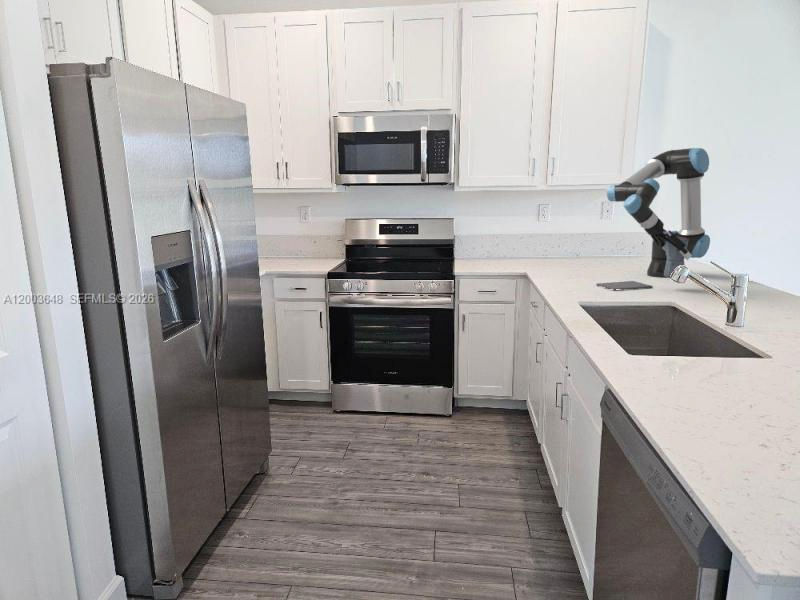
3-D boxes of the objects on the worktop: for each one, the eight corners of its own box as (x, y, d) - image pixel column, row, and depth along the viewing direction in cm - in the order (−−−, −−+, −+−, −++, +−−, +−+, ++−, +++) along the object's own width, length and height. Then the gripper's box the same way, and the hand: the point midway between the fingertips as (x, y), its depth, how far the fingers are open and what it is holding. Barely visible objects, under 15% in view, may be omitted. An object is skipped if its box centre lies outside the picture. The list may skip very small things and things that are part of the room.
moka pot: (663, 279, 234) (666, 234, 230) (660, 273, 248) (663, 231, 244) (687, 279, 231) (691, 234, 226) (683, 273, 245) (686, 230, 240)
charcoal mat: (633, 282, 261) (633, 280, 260) (652, 288, 246) (652, 285, 246) (596, 285, 257) (596, 283, 257) (613, 290, 243) (613, 288, 243)
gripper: (630, 228, 244) (659, 259, 249) (661, 231, 222) (692, 265, 227) (641, 215, 244) (670, 247, 249) (673, 218, 221) (704, 252, 226)
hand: (681, 256), depth 238 cm, fingers closed on moka pot, 10 cm apart
